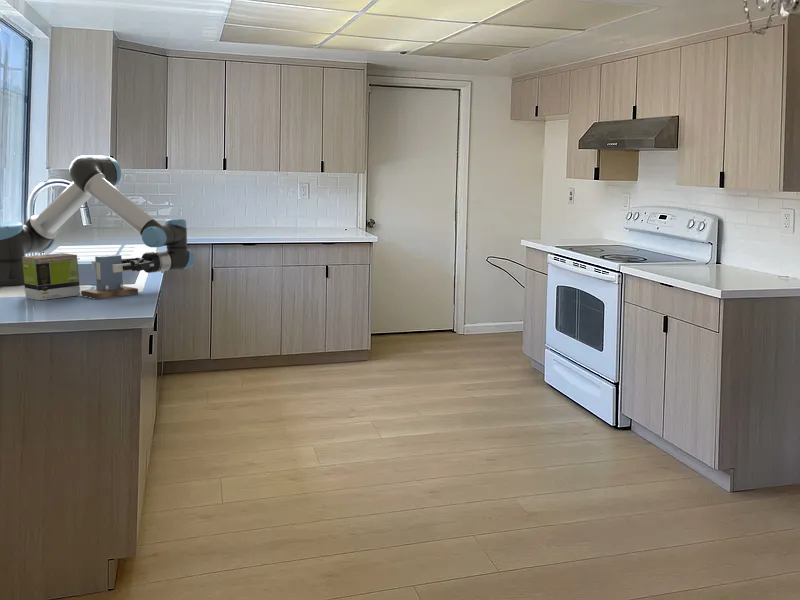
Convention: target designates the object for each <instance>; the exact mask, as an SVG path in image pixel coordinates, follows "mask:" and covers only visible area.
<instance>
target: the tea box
mask: <svg viewBox="0 0 800 600" xmlns="http://www.w3.org/2000/svg"><path fill="white" fill-rule="evenodd" d="M22 261H23V272H24V284H23V285H24V294H25V298H26V299H29V298H31V299H30V300H34V299H35V300H34V301H44V300H53V299H60V298H61V299H62V298H67V297H77V296H81V290H80V275H79V265H78V264H79V263H78V255H77V254H73V253H64V252H58V253H48V254H37V255H36V254H35V255H27V256H26V255H25V256H24V257H22Z"/></svg>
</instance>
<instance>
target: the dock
mask: <svg viewBox="0 0 800 600" xmlns="http://www.w3.org/2000/svg"><path fill="white" fill-rule="evenodd" d="M133 294H134V295H138V294H139V288H137V287H132V286H126V285H123V290H120V289H117V290H109V291H108V292H106V291H98V290H96V288H91V289H84V290H83V289H82V290H80V296H81V297H83V296H87V297H86V298H88V297H91V298H90V299H93V298H95V299H94V300H101V299H100V298H103V299H110V298H109V297H111V298H116V297H115V296H119V297H123V295H127V296H133Z"/></svg>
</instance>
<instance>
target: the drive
mask: <svg viewBox="0 0 800 600" xmlns="http://www.w3.org/2000/svg"><path fill="white" fill-rule="evenodd" d="M122 259H123V258H122V255H120V254H109V255H107V254H106V255H97V256H94V261H95V263H96V269H95V279H96V284H97V290H98V291H105V286H106V285H109V290H117V289H120V284H123V285H124V283H123V282H124V281H123V272H115V273H114V272H113V265H114V264H122Z"/></svg>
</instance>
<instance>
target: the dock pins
mask: <svg viewBox="0 0 800 600" xmlns="http://www.w3.org/2000/svg"><path fill="white" fill-rule="evenodd" d="M123 286H124V283H123V284H120V290H123ZM95 289H96V290H97V283H96V284H95ZM105 291H106V292H108V291H109V285H106V286H105Z"/></svg>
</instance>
